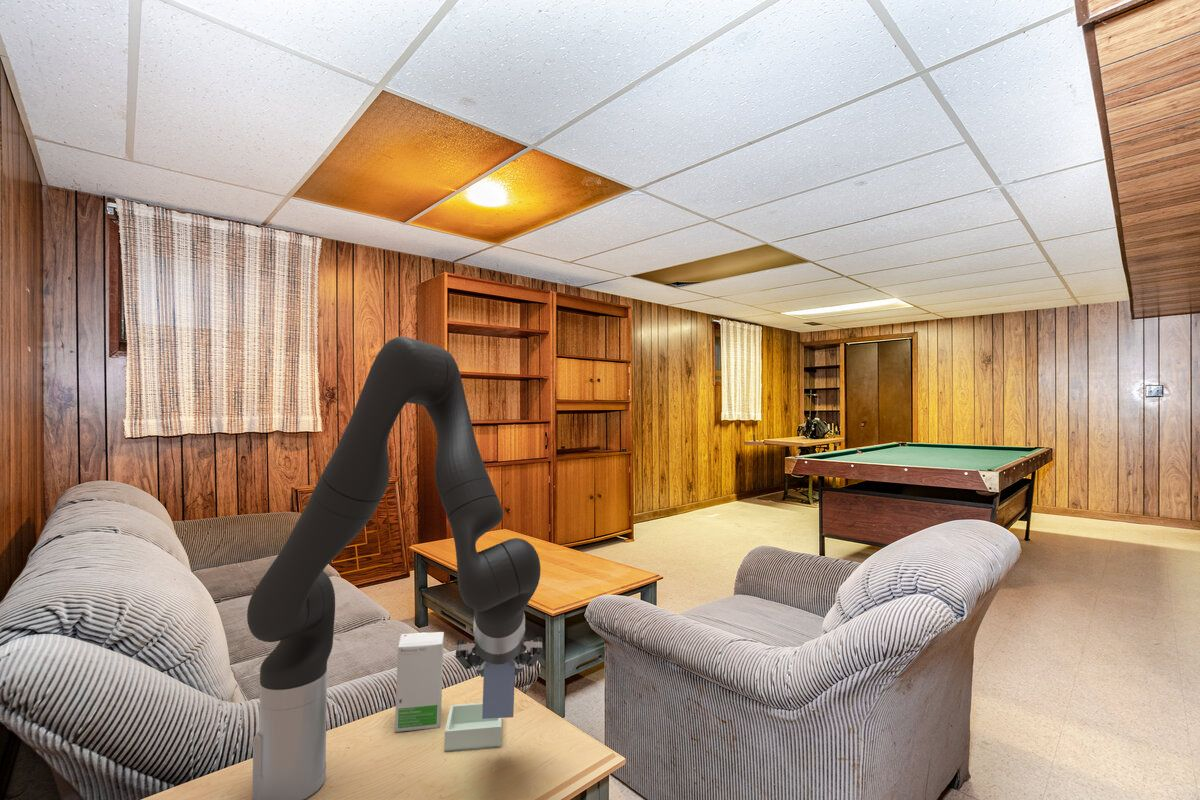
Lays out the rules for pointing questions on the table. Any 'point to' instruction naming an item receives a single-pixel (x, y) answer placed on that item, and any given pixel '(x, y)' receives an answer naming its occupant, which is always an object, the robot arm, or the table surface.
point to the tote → (471, 728)
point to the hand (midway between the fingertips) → (499, 670)
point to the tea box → (498, 691)
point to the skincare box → (419, 681)
